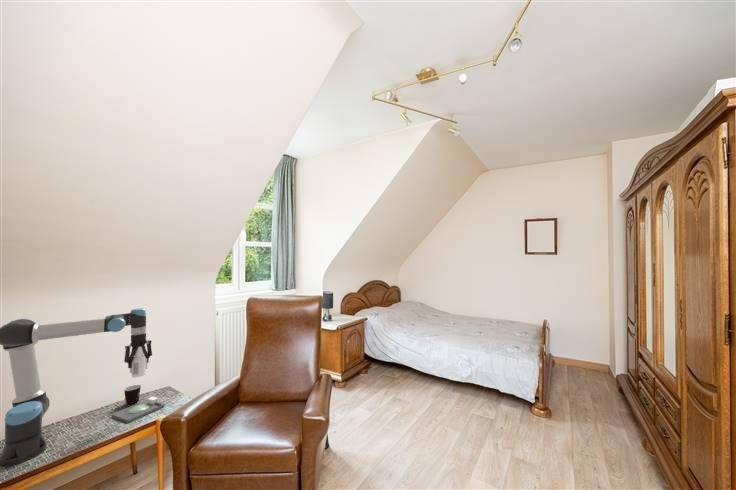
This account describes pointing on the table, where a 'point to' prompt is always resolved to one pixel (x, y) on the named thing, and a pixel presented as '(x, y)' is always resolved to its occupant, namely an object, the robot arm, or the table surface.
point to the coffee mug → (132, 394)
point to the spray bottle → (139, 363)
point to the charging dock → (138, 410)
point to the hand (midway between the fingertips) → (138, 370)
